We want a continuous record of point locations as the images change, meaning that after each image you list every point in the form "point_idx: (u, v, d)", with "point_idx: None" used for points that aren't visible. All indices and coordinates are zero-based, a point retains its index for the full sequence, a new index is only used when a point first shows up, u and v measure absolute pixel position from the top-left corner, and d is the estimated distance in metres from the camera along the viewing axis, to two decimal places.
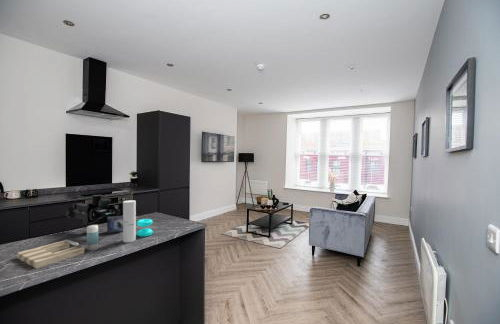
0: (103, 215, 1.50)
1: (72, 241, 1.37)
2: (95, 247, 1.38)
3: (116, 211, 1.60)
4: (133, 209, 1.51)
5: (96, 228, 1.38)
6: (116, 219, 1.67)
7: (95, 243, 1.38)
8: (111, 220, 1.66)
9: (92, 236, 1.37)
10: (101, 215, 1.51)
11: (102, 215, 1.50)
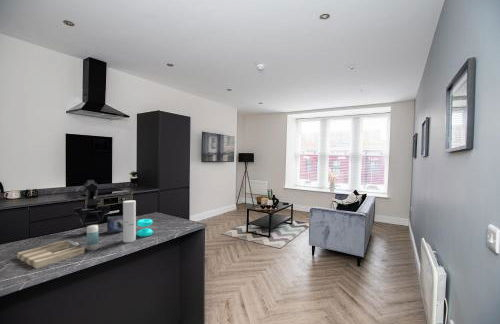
0: (81, 221, 1.43)
1: (72, 241, 1.37)
2: (95, 247, 1.38)
3: (101, 215, 1.50)
4: (133, 209, 1.51)
5: (96, 228, 1.38)
6: (116, 219, 1.67)
7: (95, 243, 1.38)
8: (111, 220, 1.66)
9: (92, 236, 1.37)
10: (80, 219, 1.44)
11: (81, 220, 1.44)
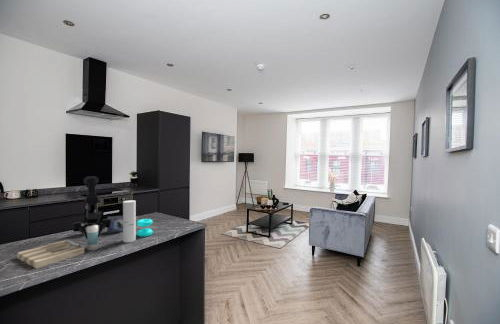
0: (85, 236, 1.37)
1: (72, 241, 1.37)
2: (95, 247, 1.38)
3: None
4: (133, 209, 1.51)
5: (96, 228, 1.38)
6: (116, 219, 1.67)
7: (95, 243, 1.38)
8: (111, 220, 1.66)
9: (92, 236, 1.37)
10: (84, 234, 1.38)
11: (84, 235, 1.37)
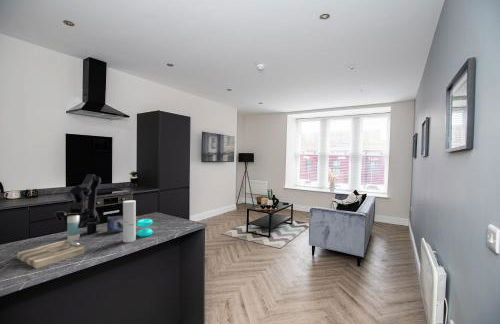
0: None
1: (72, 241, 1.37)
2: (74, 238, 1.32)
3: None
4: (133, 209, 1.51)
5: (76, 218, 1.32)
6: (116, 219, 1.67)
7: (74, 234, 1.32)
8: (111, 220, 1.66)
9: (71, 226, 1.31)
10: None
11: None
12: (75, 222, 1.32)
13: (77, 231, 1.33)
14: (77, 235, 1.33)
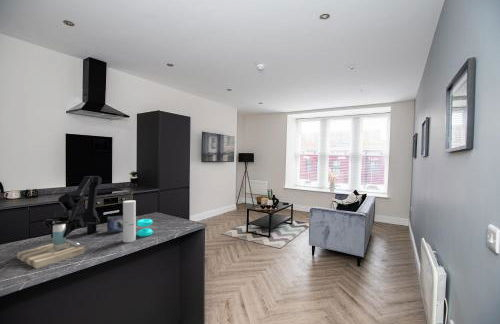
0: None
1: (72, 241, 1.37)
2: (59, 248, 1.29)
3: None
4: (133, 209, 1.51)
5: (60, 228, 1.30)
6: (116, 219, 1.67)
7: (59, 243, 1.29)
8: (111, 220, 1.66)
9: (56, 236, 1.29)
10: None
11: None
12: (60, 231, 1.29)
13: (62, 240, 1.30)
14: (62, 244, 1.30)
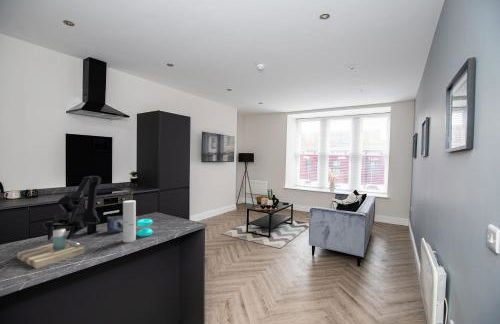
0: None
1: (72, 241, 1.37)
2: None
3: None
4: (133, 209, 1.51)
5: (60, 232, 1.30)
6: (116, 219, 1.67)
7: (59, 248, 1.29)
8: (111, 220, 1.66)
9: (56, 240, 1.29)
10: None
11: None
12: (60, 236, 1.29)
13: (62, 245, 1.30)
14: (62, 249, 1.31)
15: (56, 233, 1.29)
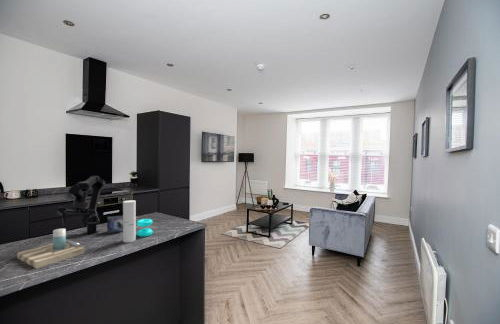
0: (63, 222, 1.40)
1: (72, 241, 1.37)
2: None
3: (84, 219, 1.46)
4: (133, 209, 1.51)
5: (60, 232, 1.30)
6: (116, 219, 1.67)
7: (59, 248, 1.29)
8: (111, 220, 1.66)
9: (56, 240, 1.29)
10: None
11: None
12: (60, 236, 1.29)
13: (62, 245, 1.30)
14: (62, 249, 1.31)
15: (56, 233, 1.29)
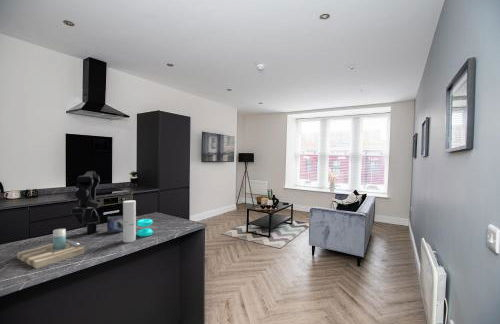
0: (80, 221, 1.43)
1: (72, 241, 1.37)
2: None
3: (88, 212, 1.53)
4: (133, 209, 1.51)
5: (60, 232, 1.30)
6: (116, 219, 1.67)
7: (59, 248, 1.29)
8: (111, 220, 1.66)
9: (56, 240, 1.29)
10: (79, 219, 1.42)
11: (79, 220, 1.43)
12: (60, 236, 1.29)
13: (62, 245, 1.30)
14: (62, 249, 1.31)
15: (56, 233, 1.29)
